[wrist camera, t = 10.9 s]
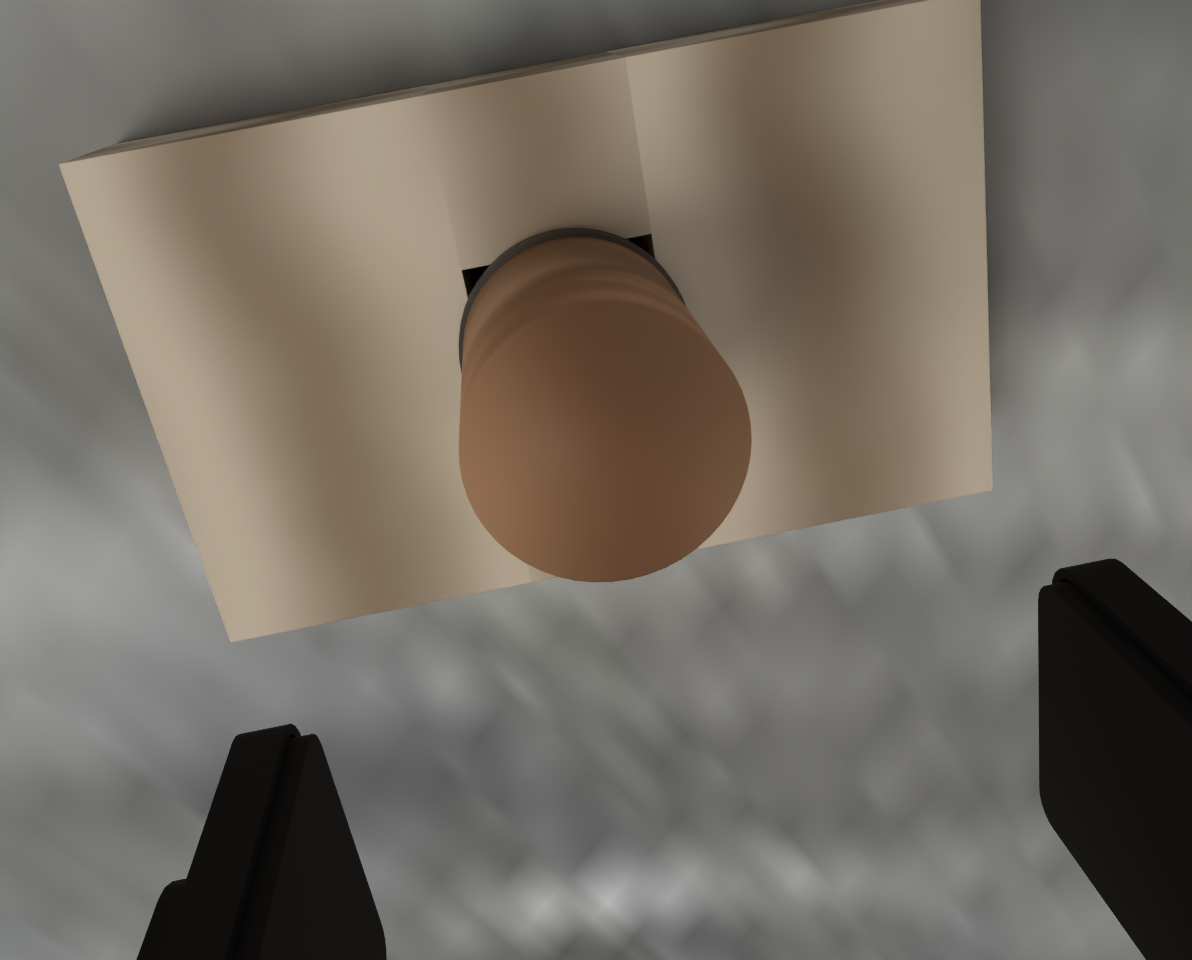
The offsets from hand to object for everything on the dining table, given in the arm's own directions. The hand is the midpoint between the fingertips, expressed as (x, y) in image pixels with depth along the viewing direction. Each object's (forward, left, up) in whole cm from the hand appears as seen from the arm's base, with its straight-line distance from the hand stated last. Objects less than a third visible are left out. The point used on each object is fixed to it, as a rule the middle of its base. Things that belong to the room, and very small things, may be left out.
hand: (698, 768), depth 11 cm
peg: (0, 0, -20) cm, 20 cm away
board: (0, 0, -20) cm, 20 cm away
